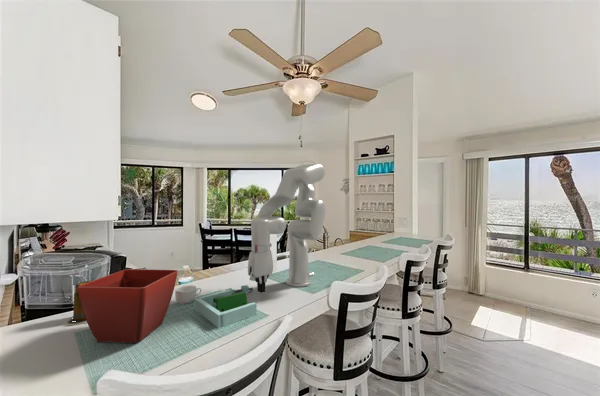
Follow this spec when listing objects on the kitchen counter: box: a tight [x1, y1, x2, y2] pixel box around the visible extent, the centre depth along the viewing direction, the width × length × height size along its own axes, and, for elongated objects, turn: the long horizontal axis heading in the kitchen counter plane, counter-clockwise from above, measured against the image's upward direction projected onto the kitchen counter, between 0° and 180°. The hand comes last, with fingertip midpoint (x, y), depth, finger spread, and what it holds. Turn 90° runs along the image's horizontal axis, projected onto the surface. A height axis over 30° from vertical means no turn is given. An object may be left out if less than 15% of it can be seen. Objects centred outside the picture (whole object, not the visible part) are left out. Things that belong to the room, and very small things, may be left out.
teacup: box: [174, 284, 202, 305], centre depth 104 cm, size 10×8×5 cm
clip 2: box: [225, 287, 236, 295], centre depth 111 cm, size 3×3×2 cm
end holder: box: [193, 289, 257, 329], centre depth 94 cm, size 14×20×4 cm
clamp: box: [213, 292, 248, 312], centre depth 96 cm, size 12×6×9 cm, turn 122°
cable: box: [235, 287, 254, 293], centre depth 108 cm, size 25×5×1 cm, turn 134°
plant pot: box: [78, 268, 178, 344], centre depth 79 cm, size 19×19×17 cm
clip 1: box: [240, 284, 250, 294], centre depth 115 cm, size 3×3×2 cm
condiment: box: [64, 280, 92, 327], centre depth 87 cm, size 7×8×12 cm
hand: (261, 291), depth 107 cm, fingers closed
